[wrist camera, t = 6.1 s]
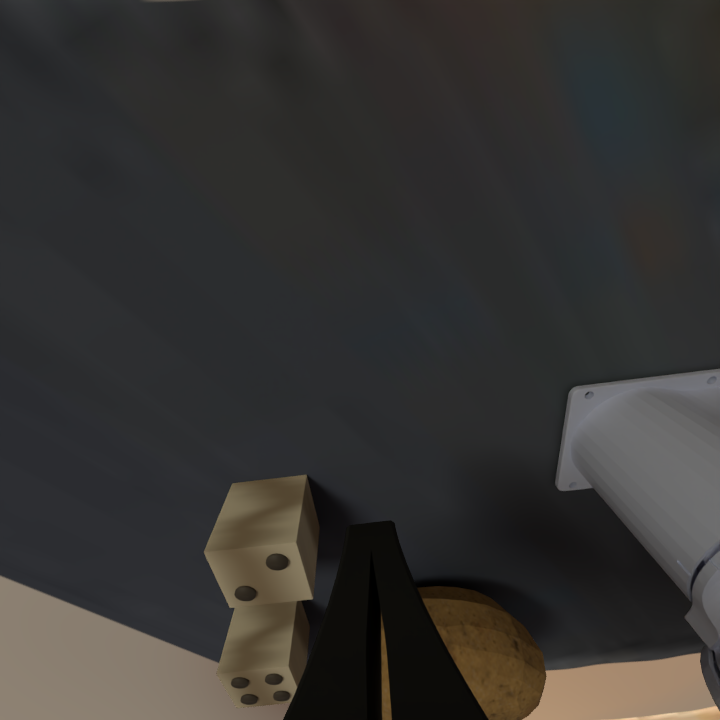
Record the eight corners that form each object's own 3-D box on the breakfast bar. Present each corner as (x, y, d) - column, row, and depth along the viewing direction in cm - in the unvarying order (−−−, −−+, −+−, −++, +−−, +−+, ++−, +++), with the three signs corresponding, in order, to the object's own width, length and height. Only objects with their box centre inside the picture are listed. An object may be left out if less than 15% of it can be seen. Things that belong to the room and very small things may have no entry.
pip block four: (298, 590, 28) (287, 668, 23) (310, 625, 30) (302, 704, 25) (237, 597, 28) (215, 676, 23) (253, 631, 30) (236, 711, 25)
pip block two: (306, 474, 23) (295, 544, 18) (319, 526, 25) (312, 601, 20) (232, 482, 23) (202, 554, 18) (251, 534, 25) (229, 610, 20)
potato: (504, 625, 31) (552, 757, 23) (347, 634, 30) (346, 769, 23) (522, 552, 26) (587, 684, 19) (340, 562, 26) (337, 698, 19)
